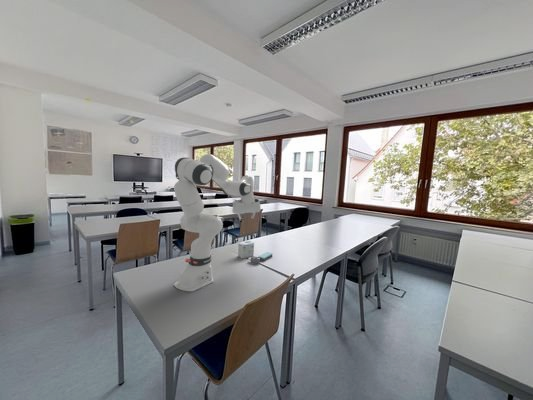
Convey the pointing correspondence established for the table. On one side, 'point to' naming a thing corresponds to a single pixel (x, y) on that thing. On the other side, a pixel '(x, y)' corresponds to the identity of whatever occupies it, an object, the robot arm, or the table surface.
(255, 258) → the dongle
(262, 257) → the eraser
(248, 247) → the light bulb box
